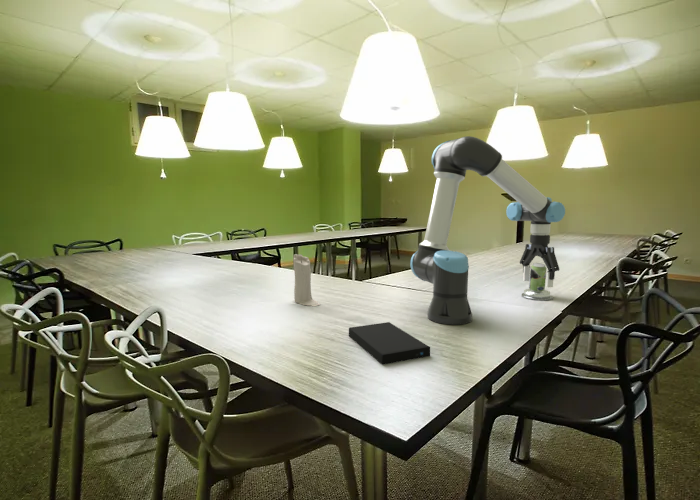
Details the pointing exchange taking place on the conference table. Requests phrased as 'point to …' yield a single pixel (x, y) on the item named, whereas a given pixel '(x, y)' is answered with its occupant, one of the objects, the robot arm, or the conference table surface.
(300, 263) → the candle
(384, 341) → the external hard drive
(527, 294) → the bowl
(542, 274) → the beverage can
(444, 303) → the robot arm
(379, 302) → the conference table surface
